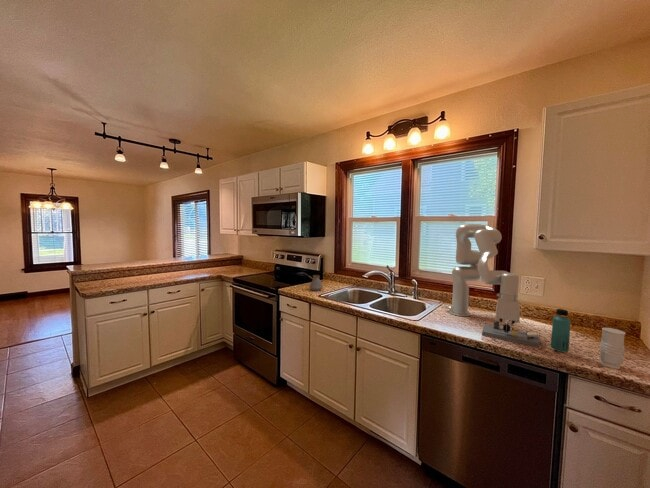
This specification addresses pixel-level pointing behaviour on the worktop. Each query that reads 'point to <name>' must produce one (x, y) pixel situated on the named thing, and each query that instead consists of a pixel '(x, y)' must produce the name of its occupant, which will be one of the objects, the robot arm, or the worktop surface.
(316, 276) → the gray watering can
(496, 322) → the dark gray slider
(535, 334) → the block
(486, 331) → the panel
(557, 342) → the beverage bottle
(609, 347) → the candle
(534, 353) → the worktop surface
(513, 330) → the brass slider
